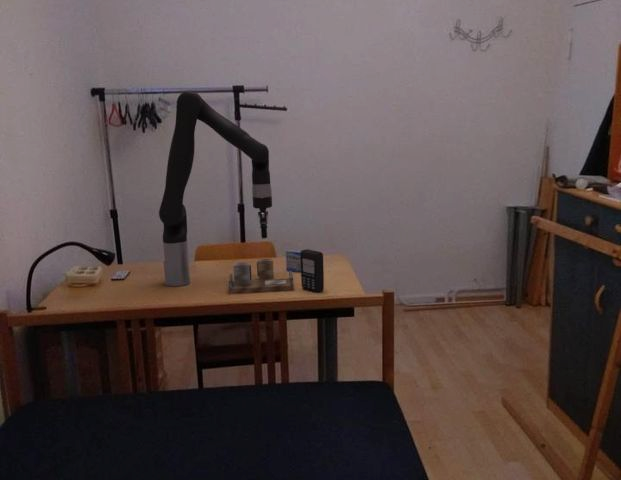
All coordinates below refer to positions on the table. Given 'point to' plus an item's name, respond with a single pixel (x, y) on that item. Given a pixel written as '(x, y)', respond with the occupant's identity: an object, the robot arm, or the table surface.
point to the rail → (255, 281)
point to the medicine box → (293, 260)
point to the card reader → (312, 270)
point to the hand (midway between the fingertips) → (264, 235)
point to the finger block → (265, 269)
